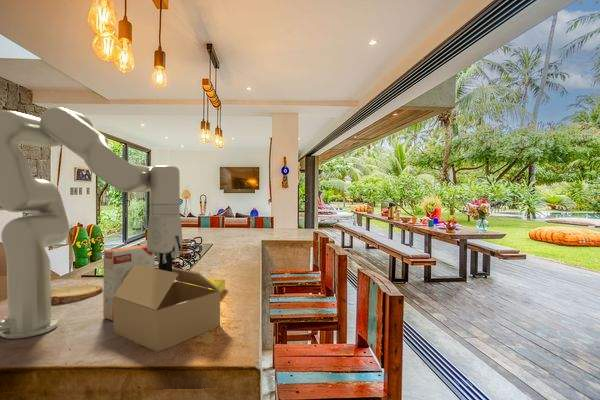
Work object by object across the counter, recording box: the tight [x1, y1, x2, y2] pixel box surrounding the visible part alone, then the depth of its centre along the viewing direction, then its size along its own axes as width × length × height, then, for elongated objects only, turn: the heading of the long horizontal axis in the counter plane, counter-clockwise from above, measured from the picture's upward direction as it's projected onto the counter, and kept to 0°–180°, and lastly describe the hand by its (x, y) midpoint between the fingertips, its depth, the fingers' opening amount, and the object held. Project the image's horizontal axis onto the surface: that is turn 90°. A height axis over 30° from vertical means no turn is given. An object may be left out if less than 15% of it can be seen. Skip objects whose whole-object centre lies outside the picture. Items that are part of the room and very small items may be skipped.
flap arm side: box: [113, 264, 178, 310], centre depth 91 cm, size 10×19×1 cm
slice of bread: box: [51, 284, 103, 306], centre depth 126 cm, size 18×18×4 cm
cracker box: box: [102, 244, 156, 322], centre depth 110 cm, size 14×6×21 cm, turn 148°
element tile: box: [187, 278, 226, 297], centre depth 131 cm, size 15×15×5 cm
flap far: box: [155, 263, 219, 291], centre depth 102 cm, size 10×19×1 cm
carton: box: [113, 280, 221, 353], centre depth 97 cm, size 20×20×10 cm
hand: (165, 276), depth 96 cm, fingers closed
